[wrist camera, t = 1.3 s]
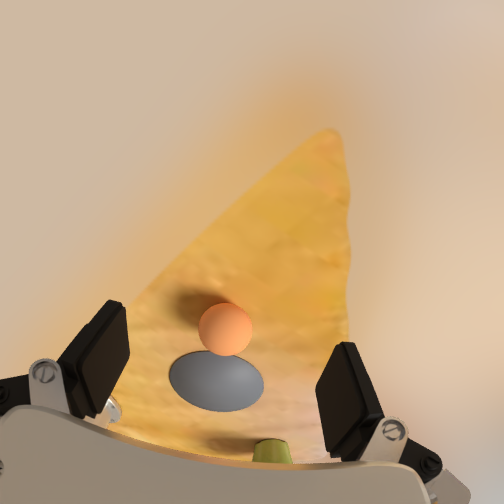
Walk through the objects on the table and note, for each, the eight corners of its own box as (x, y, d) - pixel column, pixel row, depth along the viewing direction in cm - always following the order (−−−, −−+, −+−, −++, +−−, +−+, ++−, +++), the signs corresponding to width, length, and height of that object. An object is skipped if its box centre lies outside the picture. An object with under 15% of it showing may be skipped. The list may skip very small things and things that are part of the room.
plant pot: (296, 431, 38) (300, 472, 30) (297, 452, 42) (300, 488, 34) (242, 435, 39) (240, 476, 31) (250, 456, 42) (249, 491, 34)
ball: (241, 340, 31) (239, 373, 26) (197, 324, 30) (187, 356, 25) (260, 303, 29) (261, 335, 24) (212, 286, 28) (203, 315, 23)
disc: (243, 418, 37) (243, 419, 37) (163, 394, 35) (162, 395, 35) (279, 368, 32) (279, 369, 32) (181, 337, 31) (181, 338, 31)
